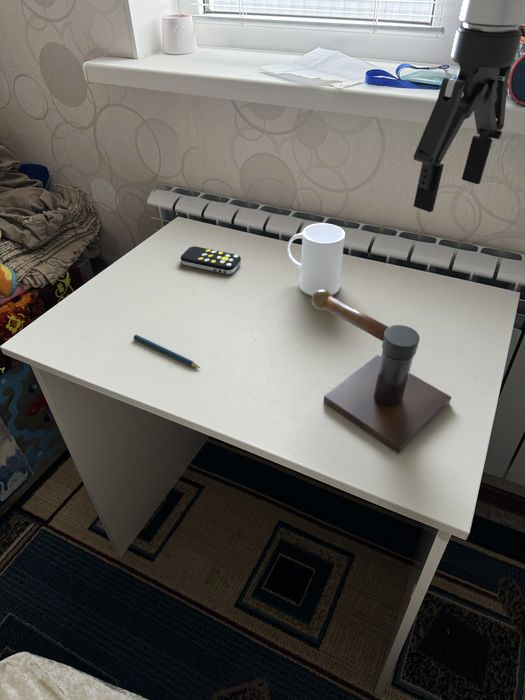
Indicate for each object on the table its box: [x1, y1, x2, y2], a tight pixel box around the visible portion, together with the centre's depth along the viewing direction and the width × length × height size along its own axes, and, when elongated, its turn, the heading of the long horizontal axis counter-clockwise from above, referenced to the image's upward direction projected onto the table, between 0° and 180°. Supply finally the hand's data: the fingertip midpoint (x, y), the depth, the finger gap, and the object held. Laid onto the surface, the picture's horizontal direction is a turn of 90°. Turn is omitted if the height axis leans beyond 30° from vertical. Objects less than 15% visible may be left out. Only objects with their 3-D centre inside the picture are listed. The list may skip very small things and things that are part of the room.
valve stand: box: [323, 349, 452, 455], centre depth 76 cm, size 14×14×11 cm
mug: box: [286, 222, 346, 297], centre depth 101 cm, size 12×8×12 cm
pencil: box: [133, 334, 201, 369], centre depth 88 cm, size 1×1×15 cm
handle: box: [311, 289, 421, 360], centre depth 75 cm, size 18×5×3 cm, turn 44°
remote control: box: [180, 245, 242, 275], centre depth 111 cm, size 6×13×2 cm, turn 69°
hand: (448, 194), depth 75 cm, fingers open, 13 cm apart
